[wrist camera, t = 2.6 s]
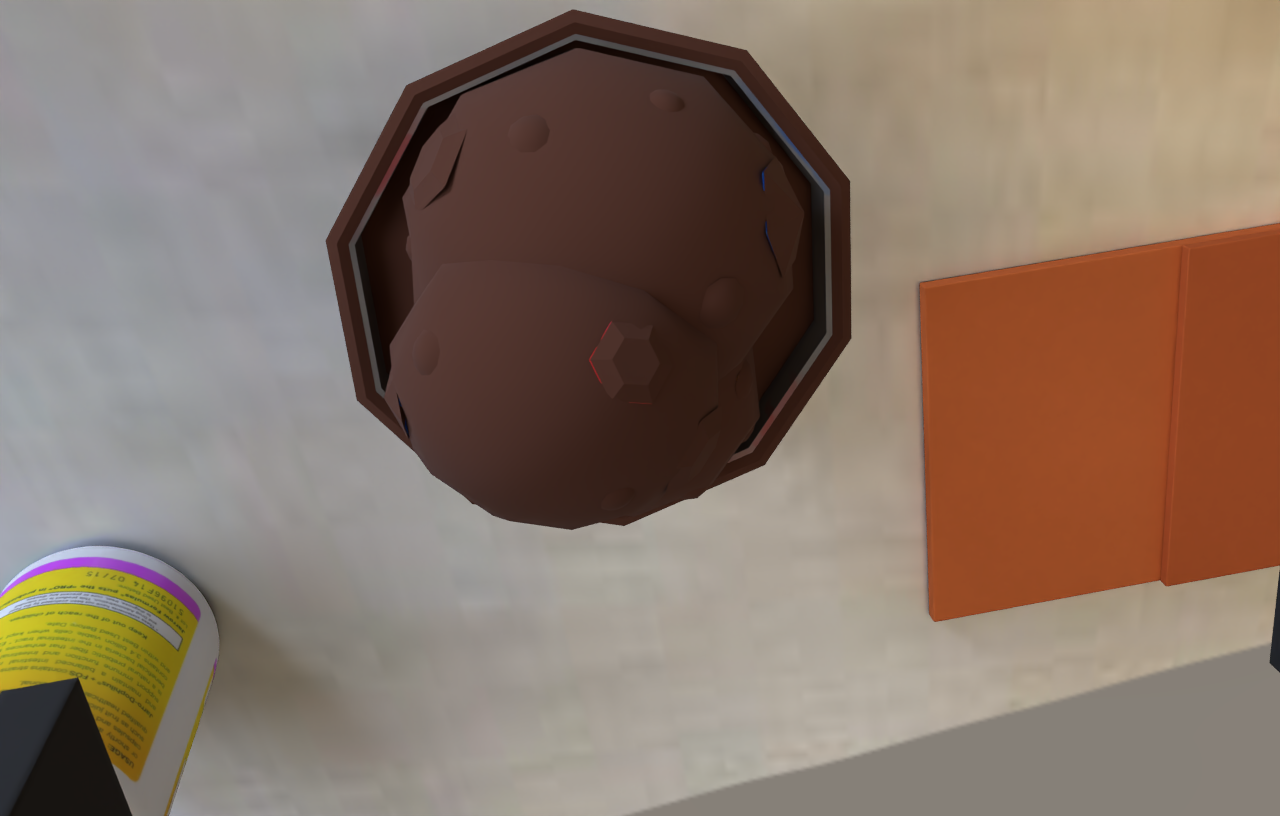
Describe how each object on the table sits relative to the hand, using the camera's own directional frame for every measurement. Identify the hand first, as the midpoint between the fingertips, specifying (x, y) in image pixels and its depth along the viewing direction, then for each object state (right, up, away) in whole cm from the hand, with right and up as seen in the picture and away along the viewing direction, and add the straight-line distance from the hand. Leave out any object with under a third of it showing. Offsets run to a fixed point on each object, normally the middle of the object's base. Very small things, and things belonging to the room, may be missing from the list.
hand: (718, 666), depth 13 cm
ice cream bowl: (-3, +9, +20) cm, 23 cm away
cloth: (+16, +3, +26) cm, 30 cm away
